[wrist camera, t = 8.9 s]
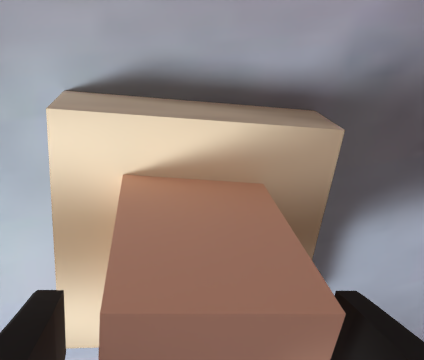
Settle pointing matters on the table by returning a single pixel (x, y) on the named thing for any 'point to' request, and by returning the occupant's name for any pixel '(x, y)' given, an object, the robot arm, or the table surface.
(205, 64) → the table surface
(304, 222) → the birch block
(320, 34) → the table surface
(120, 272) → the terracotta block
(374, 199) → the table surface
